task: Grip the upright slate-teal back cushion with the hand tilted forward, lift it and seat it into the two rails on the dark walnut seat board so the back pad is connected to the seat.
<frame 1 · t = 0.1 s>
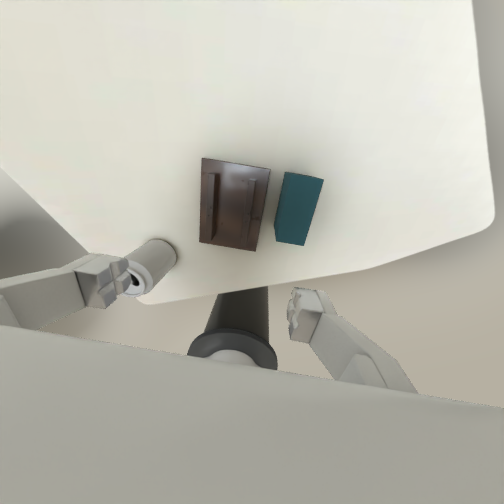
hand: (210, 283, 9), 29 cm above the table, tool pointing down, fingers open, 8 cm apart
can: (162, 252, 42), on the table
seat board: (232, 207, 36), on the table
back pad: (290, 201, 35), on the table
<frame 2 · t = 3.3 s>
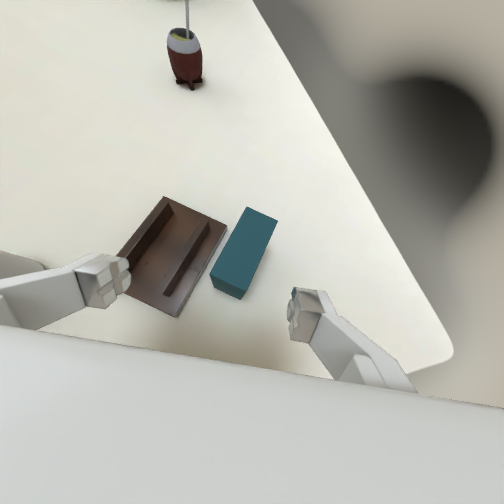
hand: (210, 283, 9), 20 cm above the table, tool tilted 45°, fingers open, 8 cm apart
can: (21, 286, 25), on the table
mate gourd: (190, 81, 45), on the table
seat board: (171, 253, 29), on the table
back pad: (240, 265, 30), on the table
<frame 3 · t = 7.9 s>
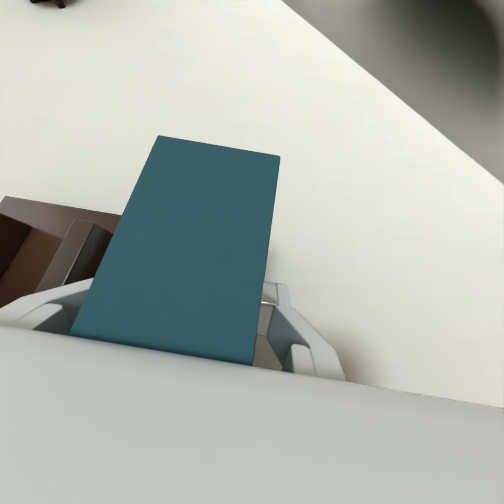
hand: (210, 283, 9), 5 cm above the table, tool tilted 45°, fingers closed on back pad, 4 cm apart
seat board: (48, 321, 12), on the table
back pad: (218, 302, 13), on the table, touching gripper
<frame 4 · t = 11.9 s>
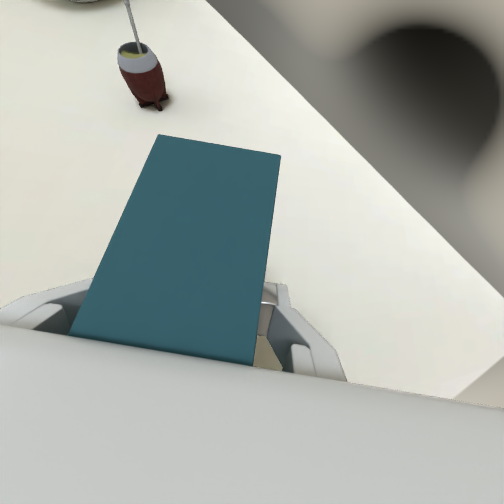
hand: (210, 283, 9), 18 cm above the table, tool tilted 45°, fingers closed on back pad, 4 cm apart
mate gourd: (155, 101, 39), on the table
back pad: (218, 302, 13), point 13 cm above the table, touching gripper
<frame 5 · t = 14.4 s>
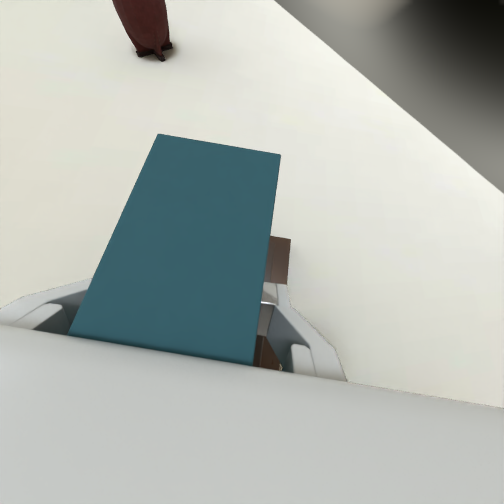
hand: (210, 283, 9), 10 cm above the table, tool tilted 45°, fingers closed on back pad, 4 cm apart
mate gourd: (156, 51, 32), on the table
seat board: (222, 306, 18), on the table
back pad: (218, 302, 13), point 5 cm above the table, touching gripper
when the fingers open (6 cm above the table, at t = 16.0 s): back pad stays where it is, resting on seat board.
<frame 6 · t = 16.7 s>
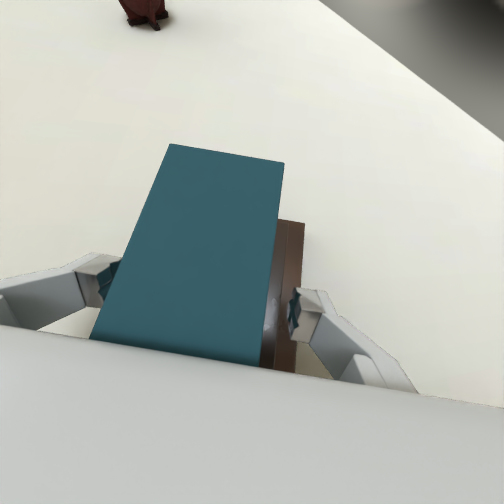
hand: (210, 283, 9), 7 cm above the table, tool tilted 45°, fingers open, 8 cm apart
mate gourd: (150, 20, 29), on the table
seat board: (222, 303, 15), on the table
back pad: (222, 301, 14), point 1 cm above the table, touching seat board
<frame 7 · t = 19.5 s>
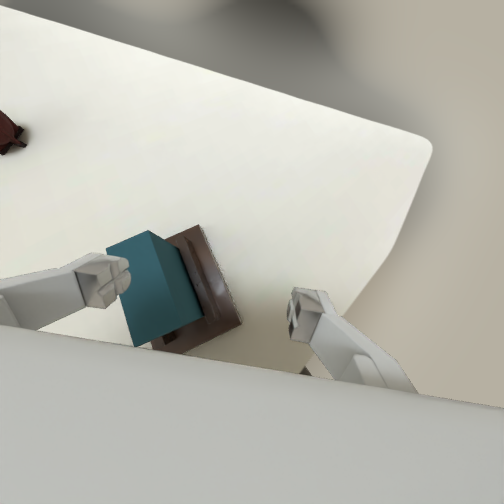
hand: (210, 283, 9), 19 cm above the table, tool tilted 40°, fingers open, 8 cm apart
mate gourd: (12, 140, 35), on the table
seat board: (183, 289, 27), on the table
back pad: (180, 288, 26), point 1 cm above the table, touching seat board
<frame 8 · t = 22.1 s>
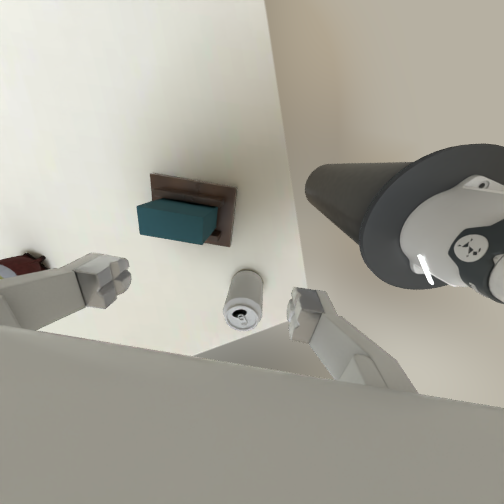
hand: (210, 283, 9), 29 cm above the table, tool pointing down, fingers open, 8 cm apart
can: (247, 281, 44), on the table
mate gourd: (37, 262, 46), on the table
seat board: (195, 211, 37), on the table
back pad: (192, 212, 36), point 1 cm above the table, touching seat board
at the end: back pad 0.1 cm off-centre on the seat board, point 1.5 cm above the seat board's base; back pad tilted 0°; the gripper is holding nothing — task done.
